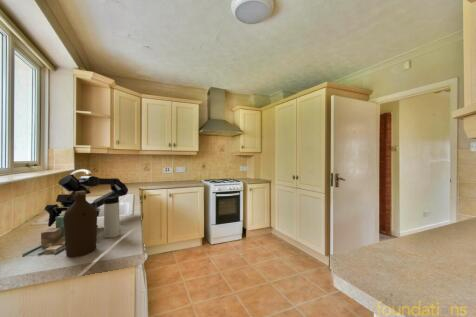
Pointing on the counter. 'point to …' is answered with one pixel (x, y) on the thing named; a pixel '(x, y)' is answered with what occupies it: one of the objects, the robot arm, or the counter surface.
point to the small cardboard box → (53, 249)
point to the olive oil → (80, 227)
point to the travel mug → (111, 216)
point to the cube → (51, 235)
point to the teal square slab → (58, 225)
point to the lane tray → (41, 251)
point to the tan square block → (61, 243)
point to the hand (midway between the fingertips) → (59, 225)
